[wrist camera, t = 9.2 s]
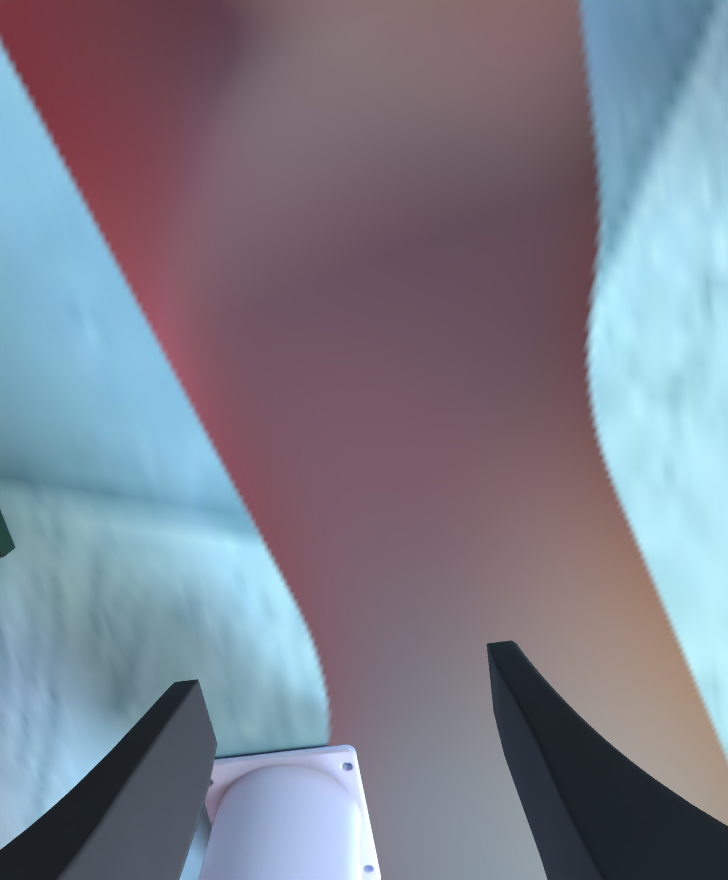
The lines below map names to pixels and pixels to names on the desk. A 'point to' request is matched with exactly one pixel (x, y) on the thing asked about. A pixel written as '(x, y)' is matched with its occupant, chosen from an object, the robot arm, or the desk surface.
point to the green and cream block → (5, 539)
